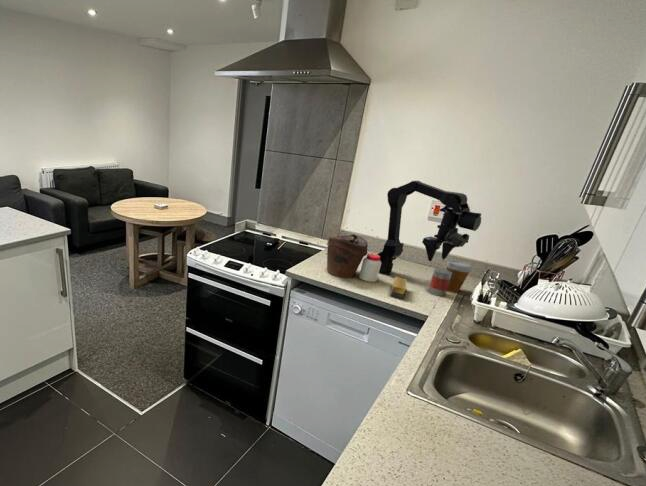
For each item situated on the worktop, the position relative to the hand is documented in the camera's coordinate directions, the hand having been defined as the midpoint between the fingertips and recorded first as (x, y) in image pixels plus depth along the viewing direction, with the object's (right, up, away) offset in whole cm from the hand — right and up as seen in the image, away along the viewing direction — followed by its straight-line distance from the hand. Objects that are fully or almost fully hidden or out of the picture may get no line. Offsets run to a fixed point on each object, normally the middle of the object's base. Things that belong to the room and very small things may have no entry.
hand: (436, 260), depth 167 cm
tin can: (+1, -14, +2) cm, 14 cm away
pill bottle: (-25, -8, +11) cm, 28 cm away
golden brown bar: (-17, -14, -1) cm, 22 cm away
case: (-35, -5, +16) cm, 39 cm away
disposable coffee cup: (+10, -13, +7) cm, 18 cm away
